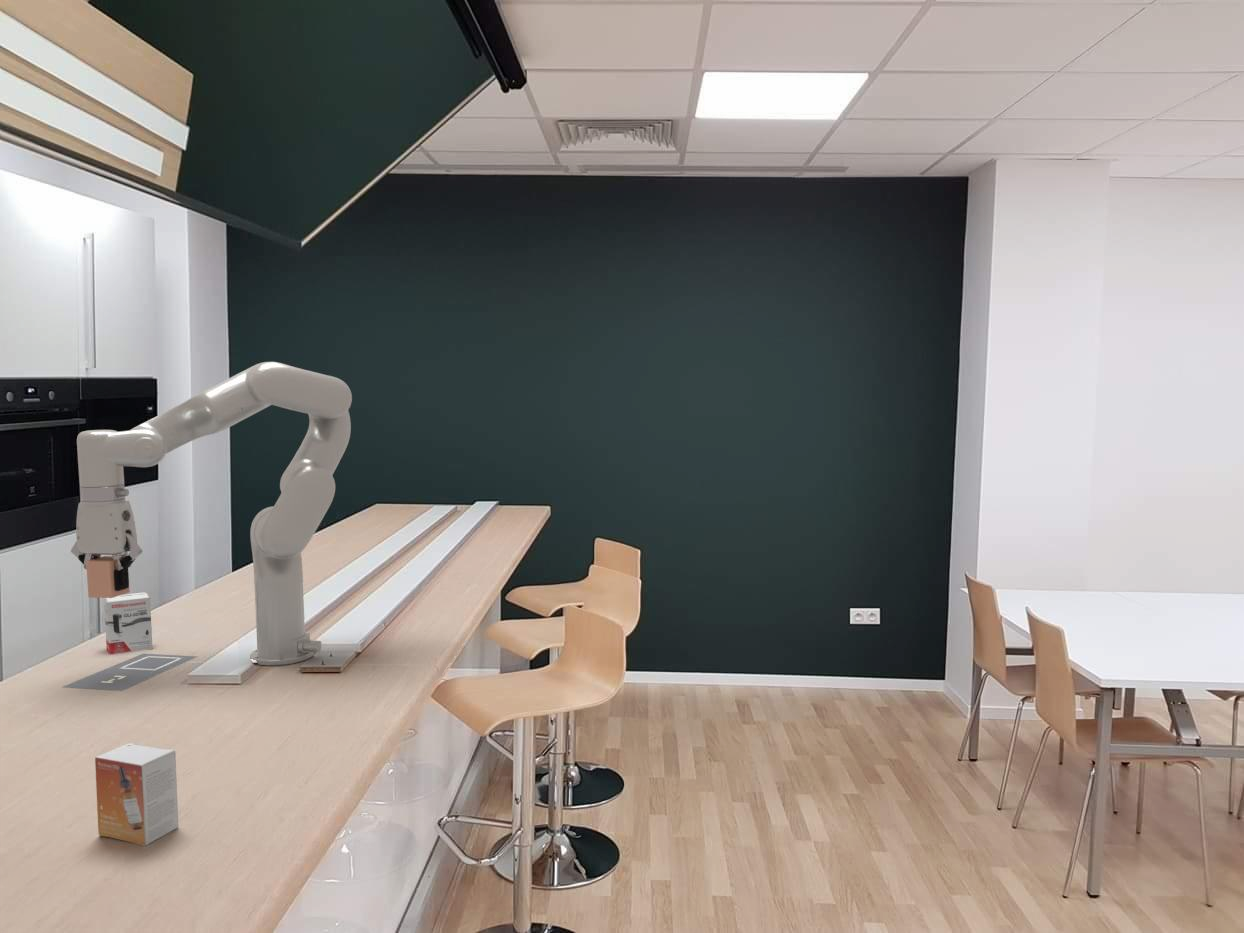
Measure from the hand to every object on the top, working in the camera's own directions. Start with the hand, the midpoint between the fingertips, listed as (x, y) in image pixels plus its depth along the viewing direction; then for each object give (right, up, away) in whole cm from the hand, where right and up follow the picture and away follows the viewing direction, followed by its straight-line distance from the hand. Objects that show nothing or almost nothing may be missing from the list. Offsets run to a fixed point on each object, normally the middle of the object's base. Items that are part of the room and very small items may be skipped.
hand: (108, 588), depth 190 cm
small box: (+36, -24, -63) cm, 76 cm away
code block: (0, -1, 0) cm, 1 cm away
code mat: (+1, -18, +7) cm, 19 cm away
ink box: (-8, -17, +24) cm, 30 cm away
